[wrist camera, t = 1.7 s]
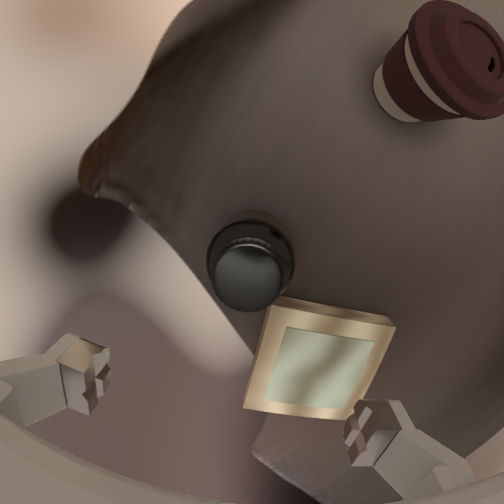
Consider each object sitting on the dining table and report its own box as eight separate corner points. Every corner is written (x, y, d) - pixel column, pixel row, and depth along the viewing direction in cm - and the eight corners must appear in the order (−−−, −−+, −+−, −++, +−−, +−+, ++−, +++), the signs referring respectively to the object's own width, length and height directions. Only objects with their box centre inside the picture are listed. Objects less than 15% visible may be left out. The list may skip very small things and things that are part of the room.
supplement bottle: (301, 240, 31) (323, 277, 19) (256, 287, 32) (252, 346, 21) (250, 194, 30) (242, 204, 18) (206, 244, 31) (174, 283, 20)
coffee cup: (343, 63, 26) (398, -7, 12) (413, 45, 25) (484, -9, 10) (385, 146, 28) (472, 130, 14) (450, 121, 27) (541, 103, 12)
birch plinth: (386, 316, 33) (396, 328, 29) (346, 405, 36) (351, 421, 33) (271, 293, 32) (271, 305, 29) (244, 392, 36) (242, 408, 32)
